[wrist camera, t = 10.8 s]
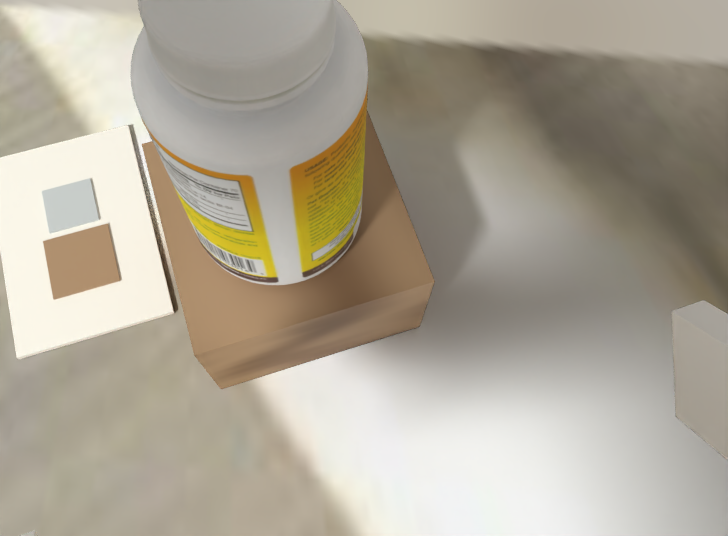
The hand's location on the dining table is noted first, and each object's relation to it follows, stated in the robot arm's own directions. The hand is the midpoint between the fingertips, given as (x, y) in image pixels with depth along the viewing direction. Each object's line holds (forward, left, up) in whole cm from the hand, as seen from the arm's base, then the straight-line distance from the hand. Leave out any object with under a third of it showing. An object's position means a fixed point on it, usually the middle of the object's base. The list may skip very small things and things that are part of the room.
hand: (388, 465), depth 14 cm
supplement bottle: (0, +9, -7) cm, 12 cm away
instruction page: (-8, +14, -12) cm, 20 cm away
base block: (0, +10, -12) cm, 15 cm away
